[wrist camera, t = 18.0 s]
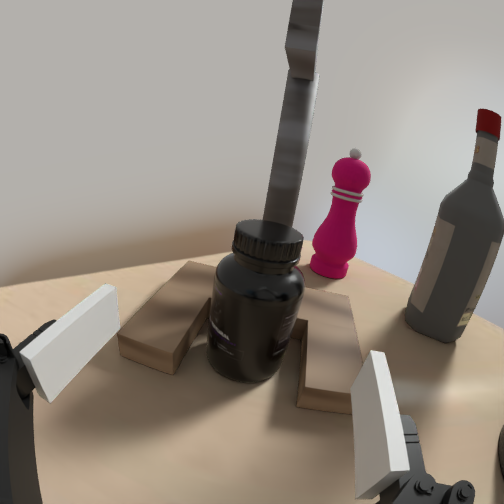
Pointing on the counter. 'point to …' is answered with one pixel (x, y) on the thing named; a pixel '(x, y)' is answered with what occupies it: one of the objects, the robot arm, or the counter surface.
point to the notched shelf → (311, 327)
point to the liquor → (460, 245)
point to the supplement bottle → (255, 301)
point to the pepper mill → (340, 218)
